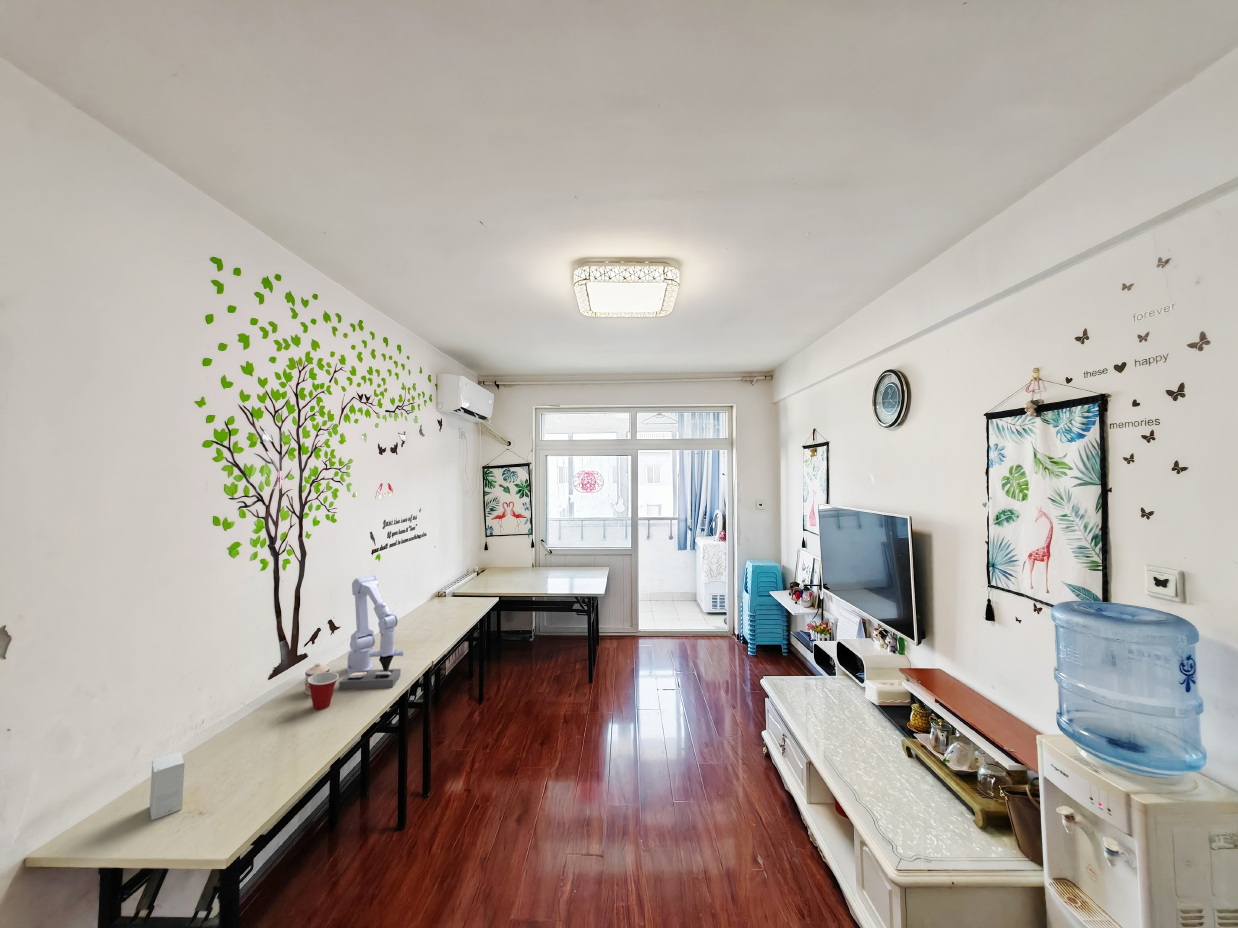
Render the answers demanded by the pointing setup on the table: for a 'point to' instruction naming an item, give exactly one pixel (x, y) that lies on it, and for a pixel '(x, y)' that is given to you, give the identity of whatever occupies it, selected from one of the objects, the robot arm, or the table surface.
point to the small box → (166, 785)
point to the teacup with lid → (311, 671)
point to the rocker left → (357, 674)
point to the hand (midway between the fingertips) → (386, 671)
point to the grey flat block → (369, 680)
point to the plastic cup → (322, 689)
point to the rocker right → (383, 673)
